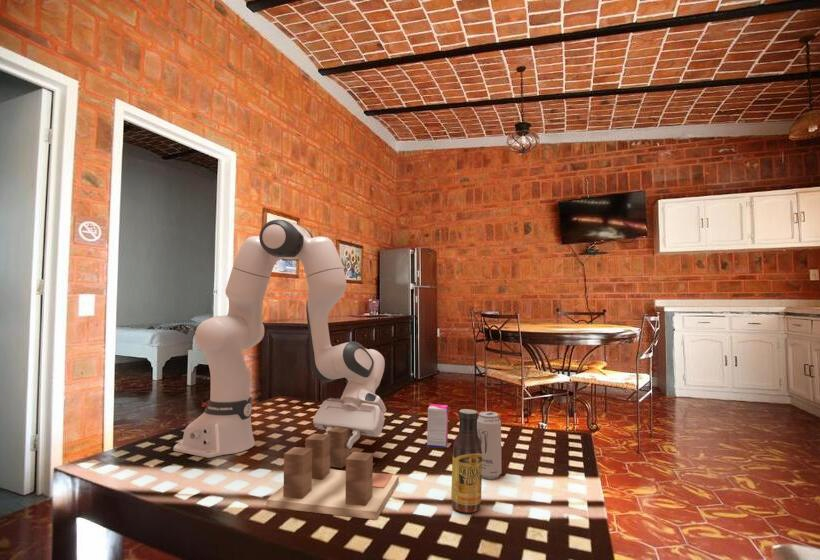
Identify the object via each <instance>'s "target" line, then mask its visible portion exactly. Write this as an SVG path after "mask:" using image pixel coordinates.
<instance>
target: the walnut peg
mask: <svg viewBox="0 0 820 560" xmlns="http://www.w3.org/2000/svg"><path fill="white" fill-rule="evenodd" d="M326 435H330V468H338V469H342V468H344V467H346V458H347V457H348V456H350V455H351V449H347V448H345V447H344V443H345V441H346V439H348V440H349V439H350V438H351V433H350V429H349V428H342V427H334V428H332V429H330V430H328V431H327V432H326Z"/></svg>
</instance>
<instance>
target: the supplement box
mask: <svg viewBox="0 0 820 560" xmlns="http://www.w3.org/2000/svg"><path fill="white" fill-rule="evenodd" d="M426 429H427V430H426V441H427V442H426V447H427V448H437V449H438V448H439V449H446V447H447V445H448V439H449V437H448V436H449V435H448V434H449V405H447V404H435V403H434V404H433V403H431V404H429V406H428V408H427V428H426Z"/></svg>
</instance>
